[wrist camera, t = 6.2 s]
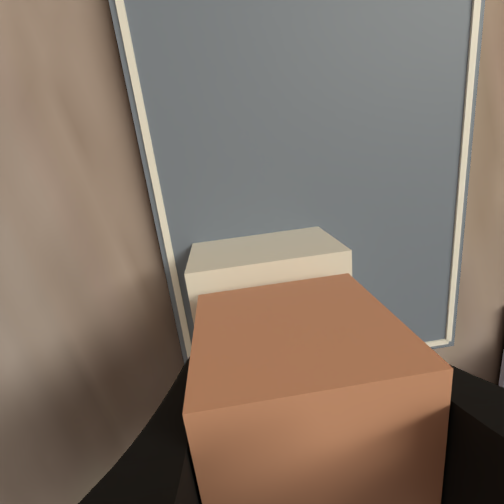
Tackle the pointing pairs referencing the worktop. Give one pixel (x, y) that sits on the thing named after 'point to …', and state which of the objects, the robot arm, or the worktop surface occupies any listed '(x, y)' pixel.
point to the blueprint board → (307, 145)
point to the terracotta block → (313, 398)
